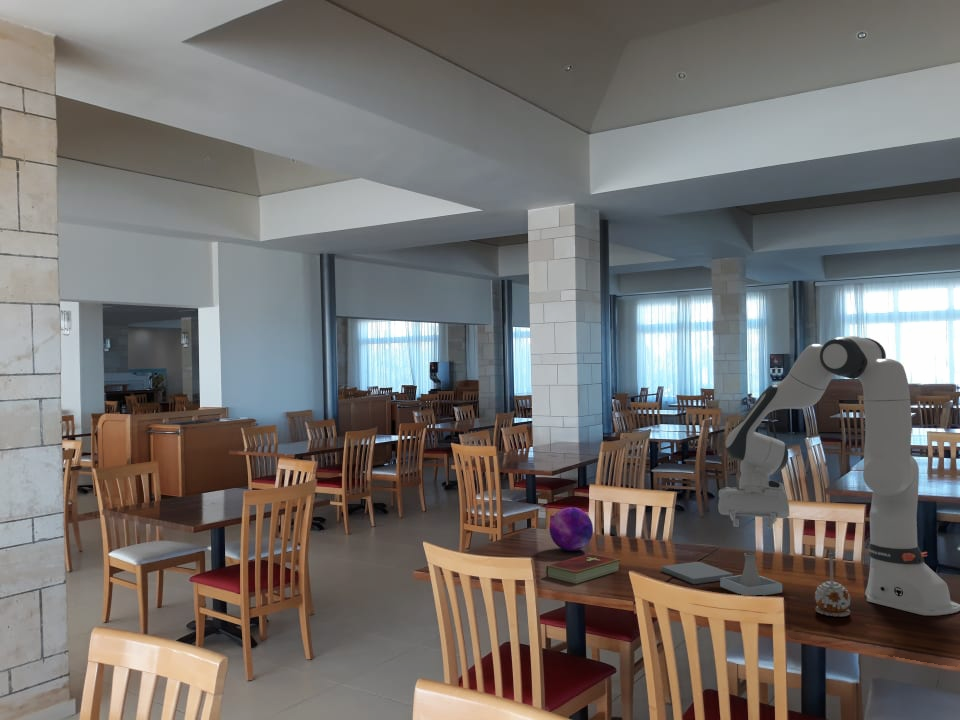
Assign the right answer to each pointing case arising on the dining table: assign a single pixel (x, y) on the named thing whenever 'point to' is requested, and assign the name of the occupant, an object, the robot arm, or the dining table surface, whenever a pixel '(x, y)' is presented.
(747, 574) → the flask
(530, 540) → the dining table surface
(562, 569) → the hardcover book
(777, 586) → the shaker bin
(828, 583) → the decorative ornament
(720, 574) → the slate board
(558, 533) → the decorative orb
